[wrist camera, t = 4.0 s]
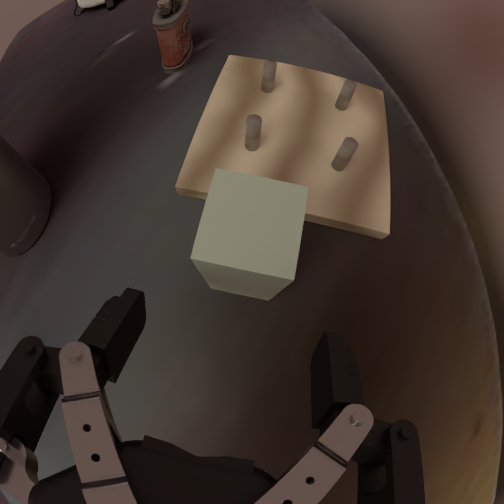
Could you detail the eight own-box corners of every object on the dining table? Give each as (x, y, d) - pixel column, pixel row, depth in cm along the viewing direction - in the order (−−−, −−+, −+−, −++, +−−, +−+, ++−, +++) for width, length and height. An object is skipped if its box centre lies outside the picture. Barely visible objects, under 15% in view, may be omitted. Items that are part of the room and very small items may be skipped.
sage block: (268, 300, 22) (294, 280, 12) (210, 288, 22) (190, 258, 12) (279, 245, 23) (308, 187, 13) (223, 233, 23) (215, 168, 13)
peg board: (178, 195, 24) (165, 164, 19) (229, 64, 28) (229, 31, 23) (381, 239, 24) (410, 219, 19) (378, 99, 28) (394, 71, 23)
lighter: (186, 72, 28) (175, 2, 18) (158, 74, 28) (142, 7, 18) (196, 38, 30) (190, -22, 20) (171, 40, 30) (162, -19, 20)
